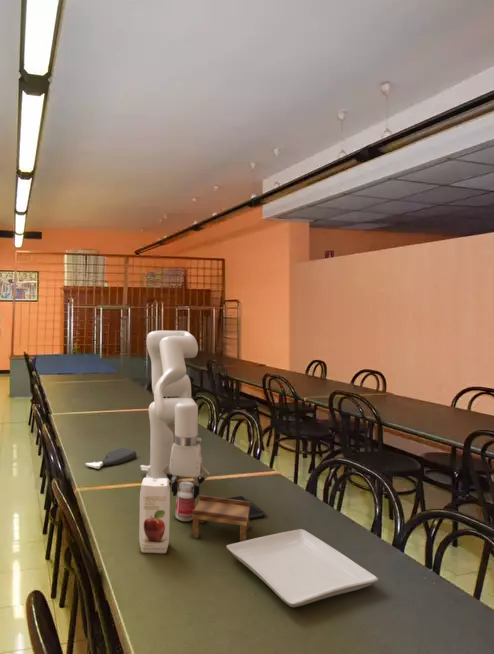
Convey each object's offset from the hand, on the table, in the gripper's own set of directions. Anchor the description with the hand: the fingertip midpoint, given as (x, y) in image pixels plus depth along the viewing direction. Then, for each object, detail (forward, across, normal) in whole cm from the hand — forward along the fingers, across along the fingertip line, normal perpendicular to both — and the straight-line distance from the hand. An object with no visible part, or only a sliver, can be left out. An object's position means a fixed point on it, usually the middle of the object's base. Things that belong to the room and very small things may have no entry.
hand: (185, 495), depth 146 cm
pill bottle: (+8, 0, -1) cm, 8 cm away
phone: (+8, -18, -14) cm, 24 cm away
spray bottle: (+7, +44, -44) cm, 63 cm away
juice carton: (+8, +4, +20) cm, 22 cm away
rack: (+8, -13, +5) cm, 16 cm away
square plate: (+9, -35, +21) cm, 41 cm away
